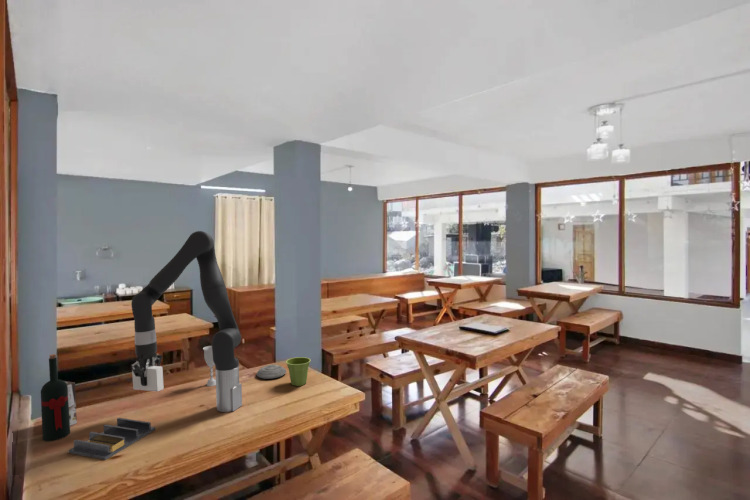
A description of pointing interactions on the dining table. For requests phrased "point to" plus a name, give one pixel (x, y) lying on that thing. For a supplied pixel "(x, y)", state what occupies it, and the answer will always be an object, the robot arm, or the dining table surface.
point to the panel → (150, 379)
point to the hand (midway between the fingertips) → (148, 383)
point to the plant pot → (298, 370)
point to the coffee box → (71, 402)
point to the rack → (112, 439)
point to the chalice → (209, 364)
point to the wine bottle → (54, 405)
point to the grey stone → (271, 372)
